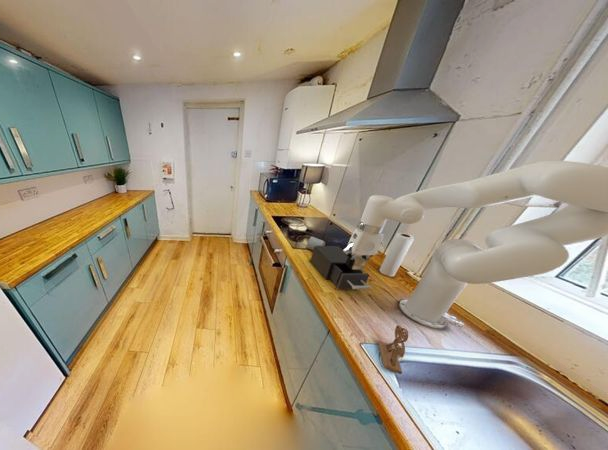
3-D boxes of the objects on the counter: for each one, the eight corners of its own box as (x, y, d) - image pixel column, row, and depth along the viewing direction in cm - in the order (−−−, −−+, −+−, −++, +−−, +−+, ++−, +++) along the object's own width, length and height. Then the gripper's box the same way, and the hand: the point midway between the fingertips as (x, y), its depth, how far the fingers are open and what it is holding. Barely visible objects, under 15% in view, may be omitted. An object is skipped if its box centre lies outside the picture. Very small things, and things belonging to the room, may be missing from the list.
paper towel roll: (386, 277, 95) (406, 238, 86) (375, 269, 101) (393, 232, 92) (400, 276, 96) (421, 238, 87) (388, 269, 101) (407, 232, 92)
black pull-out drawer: (372, 297, 81) (379, 282, 78) (345, 297, 81) (351, 283, 78) (342, 270, 98) (347, 256, 95) (320, 270, 98) (324, 256, 94)
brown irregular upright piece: (401, 374, 56) (421, 347, 51) (384, 367, 57) (402, 340, 52) (392, 347, 63) (409, 321, 58) (377, 342, 65) (392, 316, 60)
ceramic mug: (320, 255, 112) (324, 243, 108) (305, 250, 116) (308, 238, 113) (324, 248, 119) (327, 236, 116) (309, 243, 124) (312, 232, 121)
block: (355, 263, 86) (358, 254, 84) (363, 269, 82) (366, 260, 80) (345, 263, 86) (349, 254, 84) (352, 269, 82) (356, 260, 80)
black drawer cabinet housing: (351, 279, 93) (358, 262, 89) (325, 279, 93) (331, 262, 89) (332, 261, 107) (338, 245, 103) (310, 261, 106) (314, 245, 102)
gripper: (356, 231, 72) (340, 271, 80) (400, 232, 73) (380, 271, 81) (342, 223, 79) (329, 260, 87) (383, 223, 80) (366, 261, 87)
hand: (354, 265), depth 84 cm, fingers closed on block, 4 cm apart
